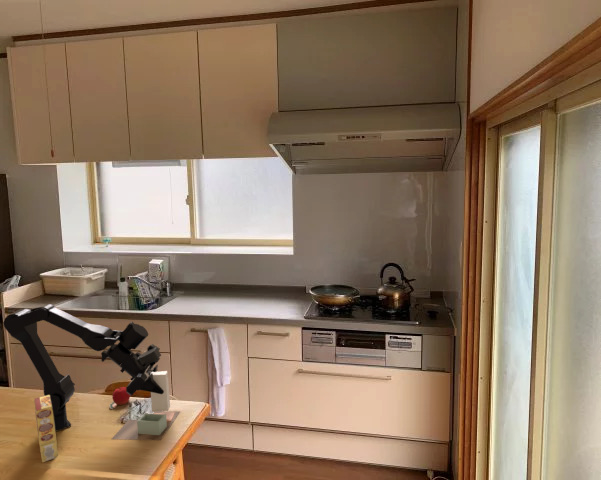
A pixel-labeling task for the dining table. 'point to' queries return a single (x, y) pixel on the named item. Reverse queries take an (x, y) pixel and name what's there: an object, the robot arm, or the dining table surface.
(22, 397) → the dining table surface
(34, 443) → the dining table surface
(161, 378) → the tall beige block
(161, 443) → the dining table surface
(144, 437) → the walnut board
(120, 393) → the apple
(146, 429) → the slot box
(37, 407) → the candy box
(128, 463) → the dining table surface
